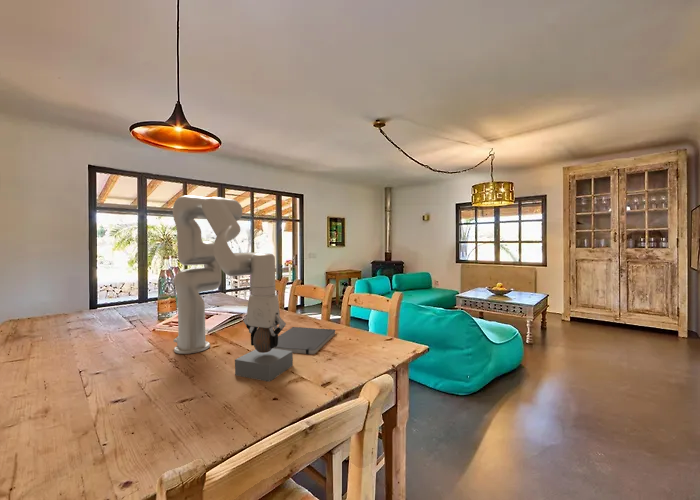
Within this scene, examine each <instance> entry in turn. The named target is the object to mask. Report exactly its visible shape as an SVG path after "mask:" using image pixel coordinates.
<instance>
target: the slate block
mask: <svg viewBox="0 0 700 500" xmlns="http://www.w3.org/2000/svg"><path fill="white" fill-rule="evenodd" d="M293 356H294V355H293V351H288V350H281V349H274V348H272V349H271V351H269V352H265V353H260V352H258V351H257V350H256V349H255V348H254V349H253V350H252V351H249V352H248V353H245V354H243V355H242V356H239V357H237V358H235V359H234V376H238V377H242V378H248V379H253V380H259V381H264V382H269V383H270V382H272V381H273V380H274V379H275V378H277V377H279V376H281V375H282V374H283V373H284V372H286V371H287V370H290V368H292V367H293V364H294V362H293V359H294V358H293Z"/></svg>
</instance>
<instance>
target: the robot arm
mask: <svg viewBox="0 0 700 500" xmlns="http://www.w3.org/2000/svg"><path fill="white" fill-rule="evenodd" d="M172 216H173V221H174V224H175V228H176V239H177V241H176V242H177V258H178V261H179V263H180V264H181V265H182V266H200V265H201V266H202V265H203V267H200V268H199V267H198V268H188V269H181V270H180V271H179V272H177V273H176V274H175V275H174V280H173V281H174V283H173V284H174V288H175V292H176V293H175V294H176V299H177V323H178V324H177V325H178V326H177V327H178V333H177V334H178V336H176V338H173V342H174V343H176V346H175V347H174V349H173V351H174V352H175V354H180V355H188V354H196V353H200V352H204V351H206V350H208V349H209V348H210V346H211V343H210V342H209V341H206V339H207V338H206V307H205V306H206V303H205V300H204V298H203V297H202V296H201V295H200V293H202V292H210V291H214V290H216V289H218V288H219V287H220V286H221V284H222V272H223V273H224V274H225V275H227V276H229V277H239V276H249V275H251V276H250V277H251V286H250V287H249V291H250V292H251V295H249V296H248V301H247V311H246V316H245V317H244V319H243V323H244V325H245V327H246V328H247V329H248V333H249V334H250V345H251V346H253V347H254V344H253V337H254V334H255V332H256V331H257V329H258V328H269V330H270V332H271V334H272V336H270V348H274V347H276V346H277V345H278V336H279V335H280V333H281V332H282V330H283V329H284V328H285V327H286V325H287V323H286V322H285V320H283V319H282V317H281V316H280V305H279V298H278V296H277V294H276V257H275V255H274V254H272V253H259V252H233V250H232V249H231V247H230V246H229V243H228V242H230V241H233V240H234V239H235V238H236V237H238V236H239V234H240V232H241V227H240V224H239V223H238V221H239V220H240V219H241V218H242V216H243V208H242V205H241V204H240V202H238V200H236V199H233V198H225V197H221V196H219V197H218V196H212V197H204V196H198V195H182V196H178V197H177V199H176V200H175V201H174V202H173V206H172ZM196 219H198V220H206V221H207V222H208V224H209V225H210V227H211V229H212V231H213V232H214V234H215V236H216V238H215V240H214V241H209V240H208V241H206V240H204V241H203V240H202V230H201V226H199V224H198V223H197V221H196Z"/></svg>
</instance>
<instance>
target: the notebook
mask: <svg viewBox="0 0 700 500" xmlns="http://www.w3.org/2000/svg"><path fill="white" fill-rule="evenodd" d="M336 331H337V330H336V329H331V328H319V327H317V328H315V327H298V326H292V327H290V328H289V329H288V330H286V331H284V332H282V333H281V334H278V345H277V346H276V347H274V349H281V350H288V351H293V353H295V354H304V355H305V354H306V355H315V354H316V353H317V352H318V351H319V350H320V349H321V348H322V347H324V346H325V345H326V344H327V343H328V342H329V340H331V339H332V338H334V336H335V335H336Z"/></svg>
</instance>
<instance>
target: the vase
mask: <svg viewBox="0 0 700 500" xmlns="http://www.w3.org/2000/svg"><path fill="white" fill-rule="evenodd" d="M270 336H272V334H271V332H270V330H269V328H259V327H258V329H257V331H256V332H255V334H254V337H253V344H254V345H253V348H254V350H255V349H256V350H257V351H258V352H260V353H265V352H269V351H271V349H272V348H270Z"/></svg>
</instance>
